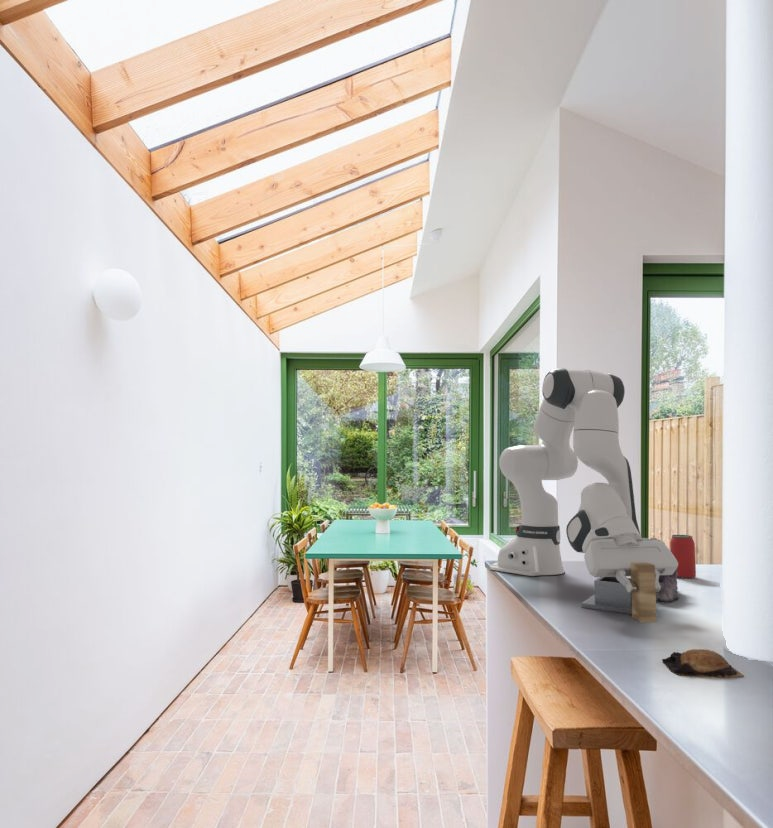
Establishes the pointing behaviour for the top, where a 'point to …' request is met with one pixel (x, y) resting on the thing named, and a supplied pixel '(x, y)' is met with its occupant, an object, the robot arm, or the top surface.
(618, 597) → the grey open box
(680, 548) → the beer can
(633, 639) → the top surface
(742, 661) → the top surface
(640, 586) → the wooden block
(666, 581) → the geode
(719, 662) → the brown domed piece
